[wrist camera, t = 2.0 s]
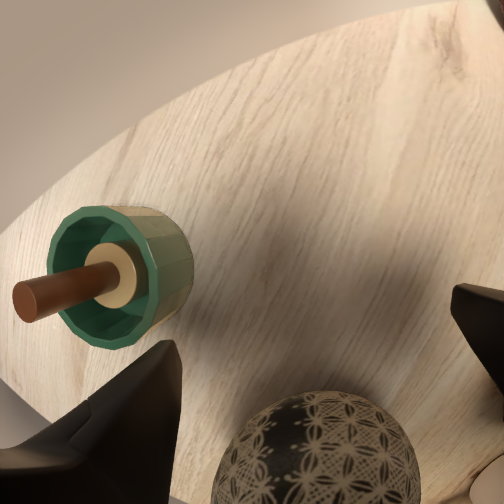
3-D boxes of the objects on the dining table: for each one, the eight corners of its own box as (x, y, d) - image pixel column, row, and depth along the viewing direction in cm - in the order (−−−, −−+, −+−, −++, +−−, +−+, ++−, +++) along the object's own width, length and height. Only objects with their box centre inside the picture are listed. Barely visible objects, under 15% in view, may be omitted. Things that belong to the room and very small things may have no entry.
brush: (170, 285, 21) (68, 337, 10) (125, 302, 22) (19, 353, 11) (148, 229, 21) (33, 240, 10) (105, 250, 21) (-10, 273, 11)
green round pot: (212, 302, 21) (183, 329, 16) (120, 333, 23) (78, 360, 17) (168, 188, 21) (126, 180, 15) (82, 234, 22) (32, 239, 17)
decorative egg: (400, 453, 20) (440, 599, 5) (266, 484, 22) (233, 626, 7) (378, 334, 20) (469, 507, 5) (216, 379, 22) (117, 543, 7)
